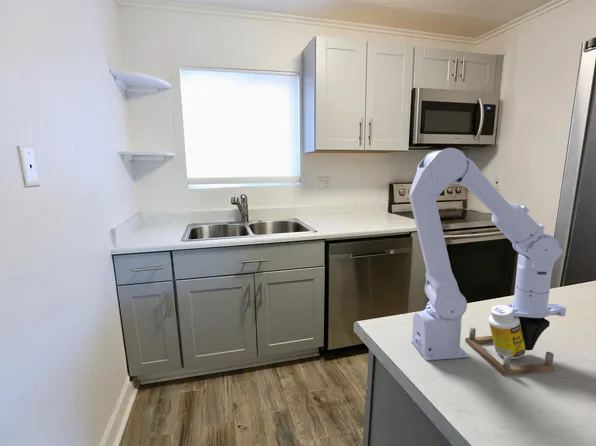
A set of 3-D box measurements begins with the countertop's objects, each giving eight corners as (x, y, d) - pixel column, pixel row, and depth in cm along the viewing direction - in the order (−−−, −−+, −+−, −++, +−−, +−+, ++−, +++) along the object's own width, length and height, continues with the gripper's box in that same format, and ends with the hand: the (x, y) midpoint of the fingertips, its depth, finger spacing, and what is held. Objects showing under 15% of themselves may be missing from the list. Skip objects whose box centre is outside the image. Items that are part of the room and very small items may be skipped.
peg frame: (502, 375, 60) (504, 359, 60) (465, 341, 72) (466, 327, 71) (553, 371, 61) (555, 355, 60) (508, 338, 73) (509, 324, 72)
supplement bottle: (519, 364, 63) (510, 319, 61) (490, 354, 67) (481, 313, 66) (531, 348, 65) (522, 306, 64) (502, 340, 70) (493, 300, 68)
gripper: (547, 279, 69) (541, 335, 71) (485, 283, 68) (481, 339, 70) (578, 291, 62) (570, 353, 64) (509, 296, 61) (504, 358, 63)
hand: (525, 347), depth 67 cm, fingers closed
